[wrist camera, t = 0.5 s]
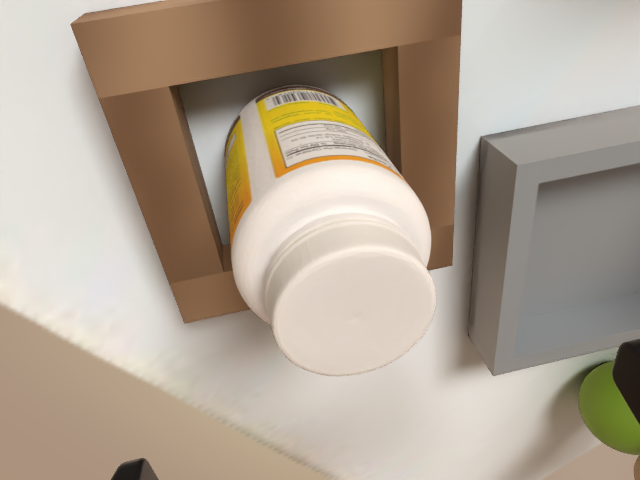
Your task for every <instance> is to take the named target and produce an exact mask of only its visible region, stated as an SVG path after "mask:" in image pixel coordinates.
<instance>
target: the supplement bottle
mask: <svg viewBox="0 0 640 480" xmlns="http://www.w3.org/2000/svg"><path fill="white" fill-rule="evenodd" d="M224 158H225V175H226V188H227V203H228V215H229V229H230V246H231V261H232V269H233V275H234V279H235V283H236V285H237V288H238V290H239V292H240V294H241V296H242V298H243V299H244V301H245V302H246V304H247V305H248V306H249V307H250V308H251V310H252V311H253V312H254V313H255V314H256V315H257V316H259V317H260V318H261V319H262V320H263V321H265V322H266V323H268V324H269V325H271V327H272V332H273V335H274V339H275V341H276V343H277V345H278V347H279V348H280V350H281V351H282V353H283V354H284V355H285V356H286V357H287V358H288V359H289V360H290V361H291V362H293V363H294V364H295V365H297V366H299V367H301V368H303V369H305V370H307V371H310V372H313V373H317V374H321V375H327V376H349V375H356V374H361V373H365V372H369V371H373V370H375V369H378V368H381V367H383V366H385V365H387V364H389V363H391V362H393V361H394V360H396V359H398V358H399V357H401V356H402V355H404V354H405V353H406V352H408V351H409V350H410V349H411V348H412V347H413V346H414V345H415V344H416V343H417V342H418V341H419V340H420V339H421V337H422V336H423V335H424V333H425V332H426V330H427V328H428V327H429V325H430V323H431V321H432V318H433V315H434V311H435V306H436V292H435V287H434V283H433V280H432V278H431V276H430V274H429V272H428V270H427V268H426V267H427V264H428V261H429V257H430V251H431V230H430V225H429V221H428V217H427V214H426V212H425V209H424V207H423V205H422V204H421V202H420V200H419V199H418V197H417V195H416V194H415V192H414V191H413V190H412V188H411V187H410V186H409V184H408V183H407V182H406V181H405V179H404V178H403V177H402V175H401V174H400V173H399V172H398V170H397V169H396V168H395V166H394V165H393V164H392V162H391V161H390V160H389V158H388V157H387V156H386V154H385V153H384V152H383V150H382V149H381V148H380V146H379V145H378V144H377V143H376V141H375V140H374V139H373V138H372V136H371V135H370V134H369V132H368V131H367V130H366V128H365V127H364V126H363V125H362V123H361V122H360V121H359V119H358V118H357V117H356V115H355V114H354V113H353V111H352V110H351V109H350V108H349V107H348V106H347V105H346V104H345V103H344V102H343V101H342V100H340V99H339V98H338V97H336V96H335V95H333V94H331V93H330V92H328V91H325V90H323V89H320V88H317V87H313V86H308V85H286V86H281V87H277V88H274V89H271V90H269V91H266V92H264V93H262V94H261V95H259V96H257V97H256V98H254V99H253V100H252V101H250V102H249V103H248V104H247V105H246V106H245V107H244V108H243V109H242V110H241V111H240V113H239V114H238V115H237V117H236V118H235V120H234V122H233V123H232V125H231V128H230V130H229V132H228V136H227V139H226V145H225V154H224Z"/></svg>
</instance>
